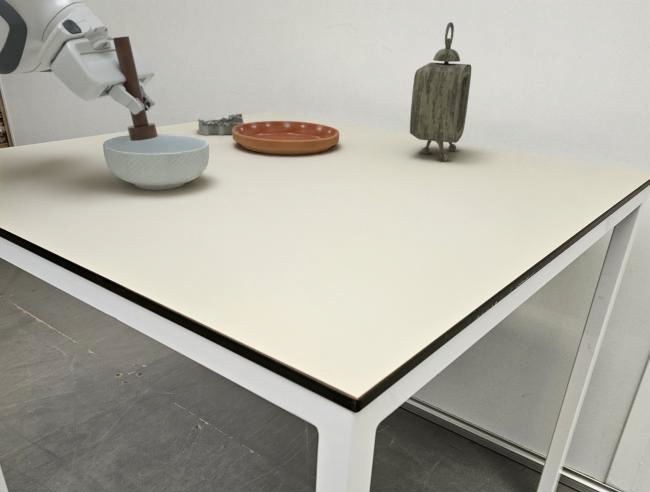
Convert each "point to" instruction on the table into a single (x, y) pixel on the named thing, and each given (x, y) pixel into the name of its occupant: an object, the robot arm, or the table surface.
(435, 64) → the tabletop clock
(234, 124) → the egg carton
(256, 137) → the saucer
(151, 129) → the stirring stick
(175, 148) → the cereal bowl
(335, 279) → the table surface
